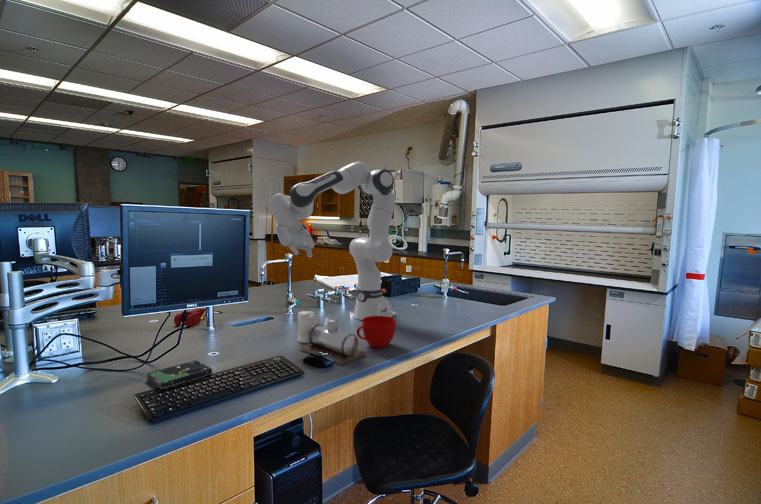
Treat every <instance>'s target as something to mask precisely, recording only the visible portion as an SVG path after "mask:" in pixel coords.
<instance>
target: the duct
mask: <svg viewBox="0 0 761 504" xmlns="http://www.w3.org/2000/svg"><path fill="white" fill-rule="evenodd" d="M358 338H359V337H358V336H357V334H353V333H346V332H343V331H340V330H339V319H334V318H332V319H327V327H326V326H323V325H322V324H316V325H314V326H312V327H311V328H310V330H309V332H308V340H309V342H308V343H306V344H304V345H301V346H300V351H302V352H304V353H307V354H310V355H312V354H311V353H318V352H322V353H328V354H331V357H332V358H333V360H334V362H333V363H334V364H338V365H340V366H343V365H346V364H347V363H350V362H353V361H355V360H358V359H361V358H363V357H366V351H364V350H360V349H358V348H359V339H358Z"/></svg>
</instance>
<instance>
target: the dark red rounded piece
mask: <svg viewBox="0 0 761 504" xmlns="http://www.w3.org/2000/svg"><path fill="white" fill-rule="evenodd" d="M205 310H206V309H205V308H200V309H198V308H196V309H194V310H191V311H190V310H186V311H187V318H186V321H185V326H187V327H193V325H194V326H195V324H196V325H197V324H200V323H201V320H200V316H201V314H202V313H204V311H205ZM183 312H184V311H182V312H179V313H177V314H176V315H175V316H174V318H173V323H174V325H175V324H176V325H175V326H179V325H180V324H181V322H182V313H183ZM203 317H205V318H206V316H205V315H204V316H203ZM199 322H200V323H199ZM180 326H181V325H180Z"/></svg>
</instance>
